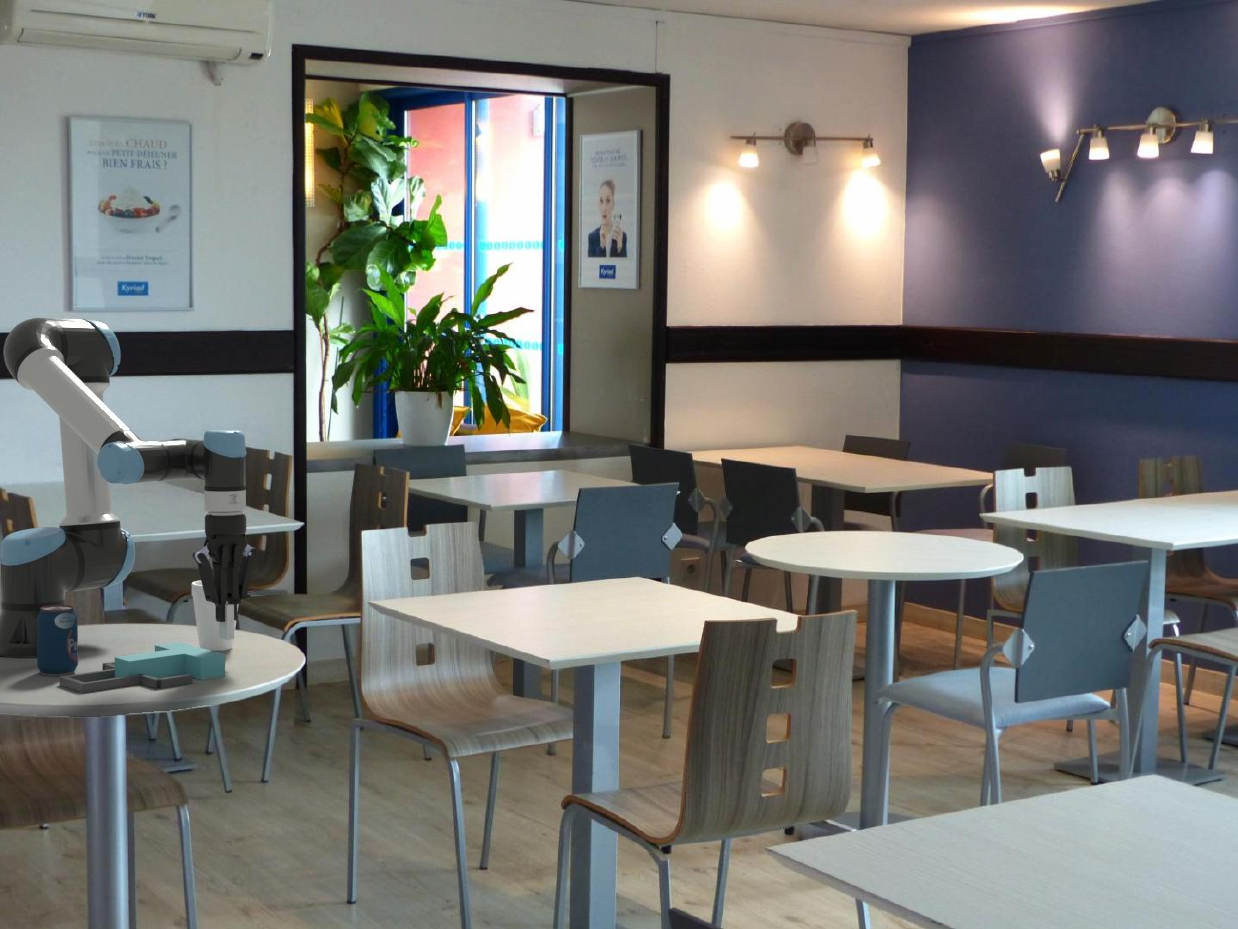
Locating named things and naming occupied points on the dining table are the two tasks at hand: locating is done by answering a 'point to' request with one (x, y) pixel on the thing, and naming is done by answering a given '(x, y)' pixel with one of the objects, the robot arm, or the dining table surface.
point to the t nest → (117, 680)
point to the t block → (173, 662)
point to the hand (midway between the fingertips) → (226, 638)
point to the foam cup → (208, 621)
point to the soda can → (57, 640)
